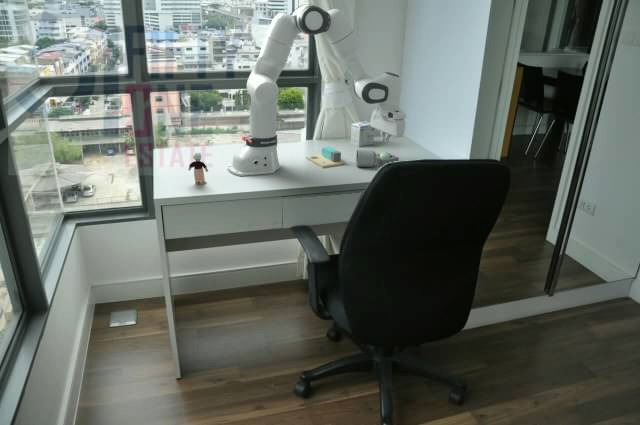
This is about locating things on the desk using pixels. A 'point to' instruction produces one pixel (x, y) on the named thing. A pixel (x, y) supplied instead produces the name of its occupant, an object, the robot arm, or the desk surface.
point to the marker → (331, 154)
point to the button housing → (382, 161)
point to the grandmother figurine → (198, 169)
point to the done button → (384, 155)
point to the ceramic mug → (365, 158)
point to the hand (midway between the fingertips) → (384, 141)
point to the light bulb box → (362, 134)
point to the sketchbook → (323, 161)
